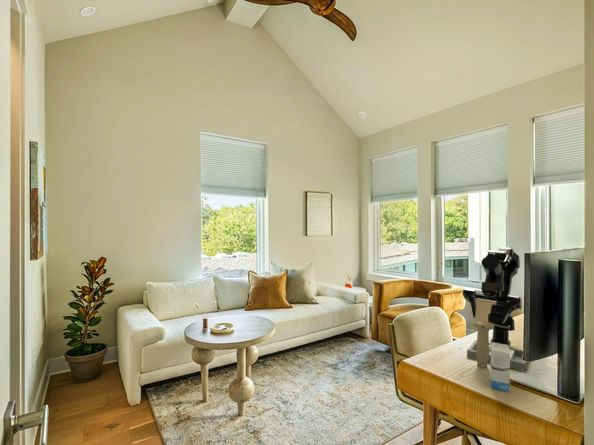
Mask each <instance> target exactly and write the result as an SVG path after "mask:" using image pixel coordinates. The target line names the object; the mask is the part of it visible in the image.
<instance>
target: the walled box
mask: <svg viewBox="0 0 594 445" xmlns="http://www.w3.org/2000/svg"><path fill="white" fill-rule="evenodd" d="M476 345H477V339H475V340H474V341H473V342H472V343H471V345H470V346H469V347H468V348H467V349H466V350H467V351H466V357H467V358H472V359H476V360H477V357H476ZM509 351H510V369H515V370H519V371H522V369H523V370H525V369H526V368H527V367H526V366H528V363H529V361H528V362H526V361H523V360H522V355H523V351H524V350H522V349H519V348H514V347H509ZM488 363H491V342H489V359H488ZM526 370H527V369H526ZM526 370H525V371H526Z"/></svg>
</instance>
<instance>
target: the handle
mask: <svg viewBox="0 0 594 445" xmlns="http://www.w3.org/2000/svg"><path fill="white" fill-rule="evenodd" d="M472 325H473V327H474V328H475V329H477V337H476V340H477V345H476V357H477V359H476V364H477V366H479V367H482V368H487V367H488V363H489V362H488V359H489V343H490V340H489V339H490V335H489V334H490V331H491V330H492V331H493V329H494V324H493V323H489V322H488V321H484V320H472Z"/></svg>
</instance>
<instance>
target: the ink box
mask: <svg viewBox="0 0 594 445" xmlns="http://www.w3.org/2000/svg"><path fill="white" fill-rule="evenodd" d="M490 343H491V362H490V365H489V366H490V370H489V372H490V373H489V374H490V375H489V380H490V388H491V389H492V390H497V391H501V392H506V393H510V383H511V382H510V378H511V376H510V375H511V368H510V351H509V346H510V345H509V346H508V345H505V344H500V343H494V342H490Z"/></svg>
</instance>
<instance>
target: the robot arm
mask: <svg viewBox="0 0 594 445" xmlns="http://www.w3.org/2000/svg"><path fill="white" fill-rule="evenodd" d="M481 266H482V268H483V271H484V273H485V278H484V281H481V287H480V290H481V292H482V293H477V292H476V290H475V289H471V288H463V290H462V297H463V299H464V300H466V301H467V302H468V303H470V306H471V307H470V308H471V312H472V318H474V319H475V318H476V315H477V305H478V304H477V301H476V300H484V301H491V302H495V303H492V304H491V308H490V311H489V312H488V315H487V316H488V317H487V322H489V323H493V324H494V329H492V338H491V339H490V340H489V343H491V342H494V343H500V344H505V345H508V346H510V343H512V342H511V340H509V337H510V332H513V331H515V328H516V327H515V319H514V318H513V315H512V312H513V311H517V310H522V304H523V303H522V298H521V297H520V296H518V295H512V294H511V290H512V289H511V288H512V282H513V278H514V277H515V275H518V272H519V271H518V270H519V269H520V268H521V267H520V266H521V260H520V256H519V254H517V253H516V252H514V248H512V247H507V246H506V247H504V246H502V247H501V246H500V247H499V249H498V250H488V251H487V253H485V256H484V257H483V258H482V259H481Z"/></svg>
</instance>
